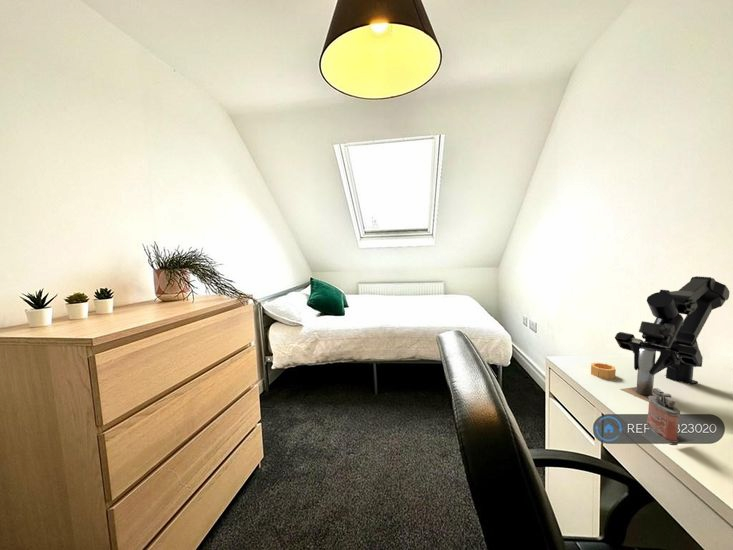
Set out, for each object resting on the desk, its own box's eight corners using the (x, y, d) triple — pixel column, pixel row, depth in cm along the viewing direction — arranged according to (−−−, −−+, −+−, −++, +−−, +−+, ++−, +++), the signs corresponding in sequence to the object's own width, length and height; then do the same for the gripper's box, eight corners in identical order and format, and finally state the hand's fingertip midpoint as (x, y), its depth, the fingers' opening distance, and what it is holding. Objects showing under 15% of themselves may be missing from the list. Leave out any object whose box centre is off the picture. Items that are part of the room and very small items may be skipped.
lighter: (682, 446, 72) (686, 402, 71) (664, 444, 73) (668, 400, 72) (658, 426, 80) (661, 386, 79) (641, 424, 80) (644, 385, 79)
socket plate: (601, 370, 114) (601, 360, 114) (626, 381, 106) (627, 370, 105) (579, 372, 112) (580, 362, 112) (603, 383, 104) (604, 372, 103)
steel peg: (642, 390, 97) (645, 347, 96) (655, 395, 94) (659, 351, 93) (632, 391, 96) (636, 348, 95) (645, 397, 93) (649, 352, 92)
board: (640, 388, 100) (641, 386, 100) (670, 401, 92) (670, 398, 92) (619, 391, 98) (619, 389, 98) (647, 404, 90) (647, 401, 90)
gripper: (620, 306, 103) (597, 346, 99) (701, 317, 87) (678, 366, 82) (631, 327, 107) (610, 366, 103) (710, 343, 91) (689, 390, 87)
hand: (643, 371), depth 94 cm, fingers closed on steel peg, 4 cm apart
